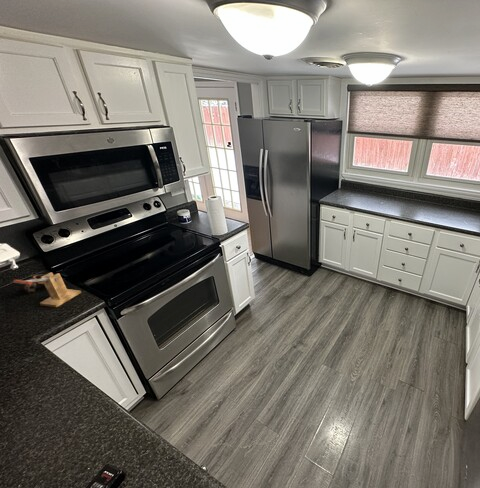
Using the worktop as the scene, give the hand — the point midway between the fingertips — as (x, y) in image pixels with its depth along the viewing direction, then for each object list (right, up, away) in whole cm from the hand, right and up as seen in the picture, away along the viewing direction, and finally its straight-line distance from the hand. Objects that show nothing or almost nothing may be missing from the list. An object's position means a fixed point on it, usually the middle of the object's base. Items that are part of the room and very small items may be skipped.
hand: (3, 273), depth 115 cm
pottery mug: (-8, -11, +22) cm, 26 cm away
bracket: (+10, -14, +16) cm, 23 cm away
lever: (+10, -5, +6) cm, 12 cm away
